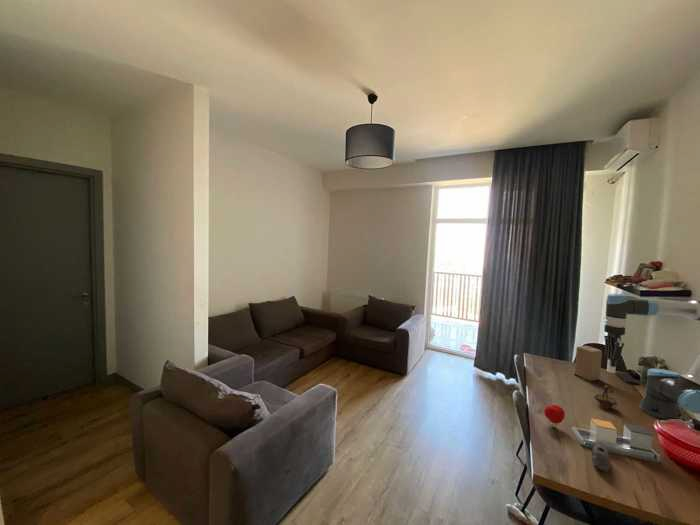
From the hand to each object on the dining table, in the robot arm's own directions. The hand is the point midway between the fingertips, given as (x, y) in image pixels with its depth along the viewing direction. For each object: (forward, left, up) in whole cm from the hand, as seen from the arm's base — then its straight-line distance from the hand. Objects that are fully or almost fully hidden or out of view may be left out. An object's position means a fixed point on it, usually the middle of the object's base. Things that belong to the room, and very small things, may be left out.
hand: (610, 372), depth 142 cm
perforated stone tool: (+18, +38, -25) cm, 49 cm away
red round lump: (+28, +18, -25) cm, 41 cm away
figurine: (-5, -14, -25) cm, 29 cm away
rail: (+8, +24, -24) cm, 35 cm away
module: (+12, +24, -23) cm, 35 cm away
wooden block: (-12, -55, -25) cm, 61 cm away
